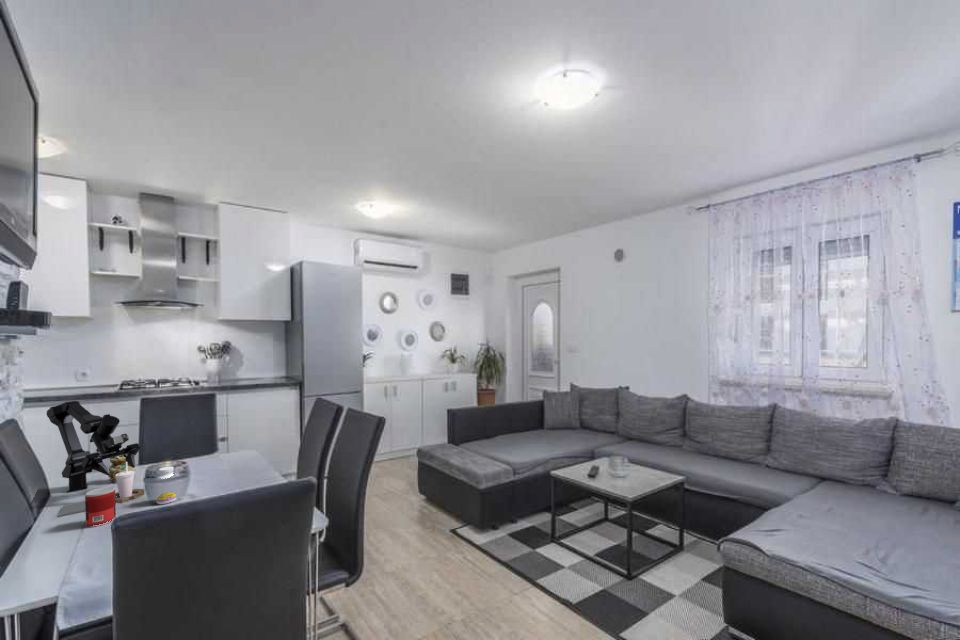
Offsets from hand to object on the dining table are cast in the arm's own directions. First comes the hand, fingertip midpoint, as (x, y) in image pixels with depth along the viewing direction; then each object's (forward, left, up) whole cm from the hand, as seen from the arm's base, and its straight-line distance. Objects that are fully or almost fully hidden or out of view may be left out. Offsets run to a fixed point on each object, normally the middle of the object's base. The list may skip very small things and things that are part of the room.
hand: (121, 470), depth 178 cm
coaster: (+4, -12, -10) cm, 16 cm away
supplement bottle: (+21, +14, -11) cm, 28 cm away
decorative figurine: (-27, -1, -11) cm, 29 cm away
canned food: (+28, -5, -11) cm, 30 cm away
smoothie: (+2, +1, -11) cm, 11 cm away
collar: (+2, +1, -10) cm, 11 cm away
